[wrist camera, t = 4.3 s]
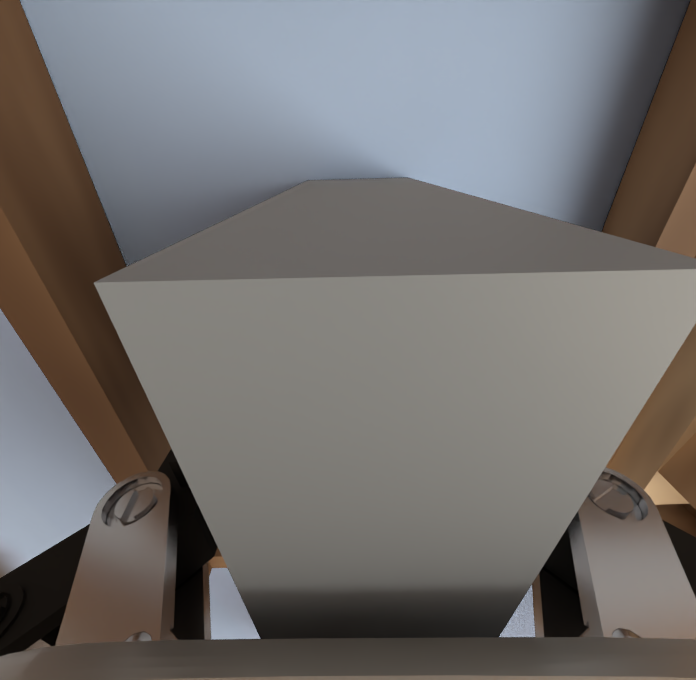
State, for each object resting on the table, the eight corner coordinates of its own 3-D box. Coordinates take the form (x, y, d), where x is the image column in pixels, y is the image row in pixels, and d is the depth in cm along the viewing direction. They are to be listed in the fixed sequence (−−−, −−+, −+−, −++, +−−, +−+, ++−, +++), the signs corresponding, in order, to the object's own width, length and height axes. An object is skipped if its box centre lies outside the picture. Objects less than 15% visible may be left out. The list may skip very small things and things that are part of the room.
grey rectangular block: (407, 177, 9) (728, 269, 1) (389, 447, 15) (431, 743, 8) (308, 179, 9) (92, 283, 1) (329, 448, 15) (310, 743, 8)
